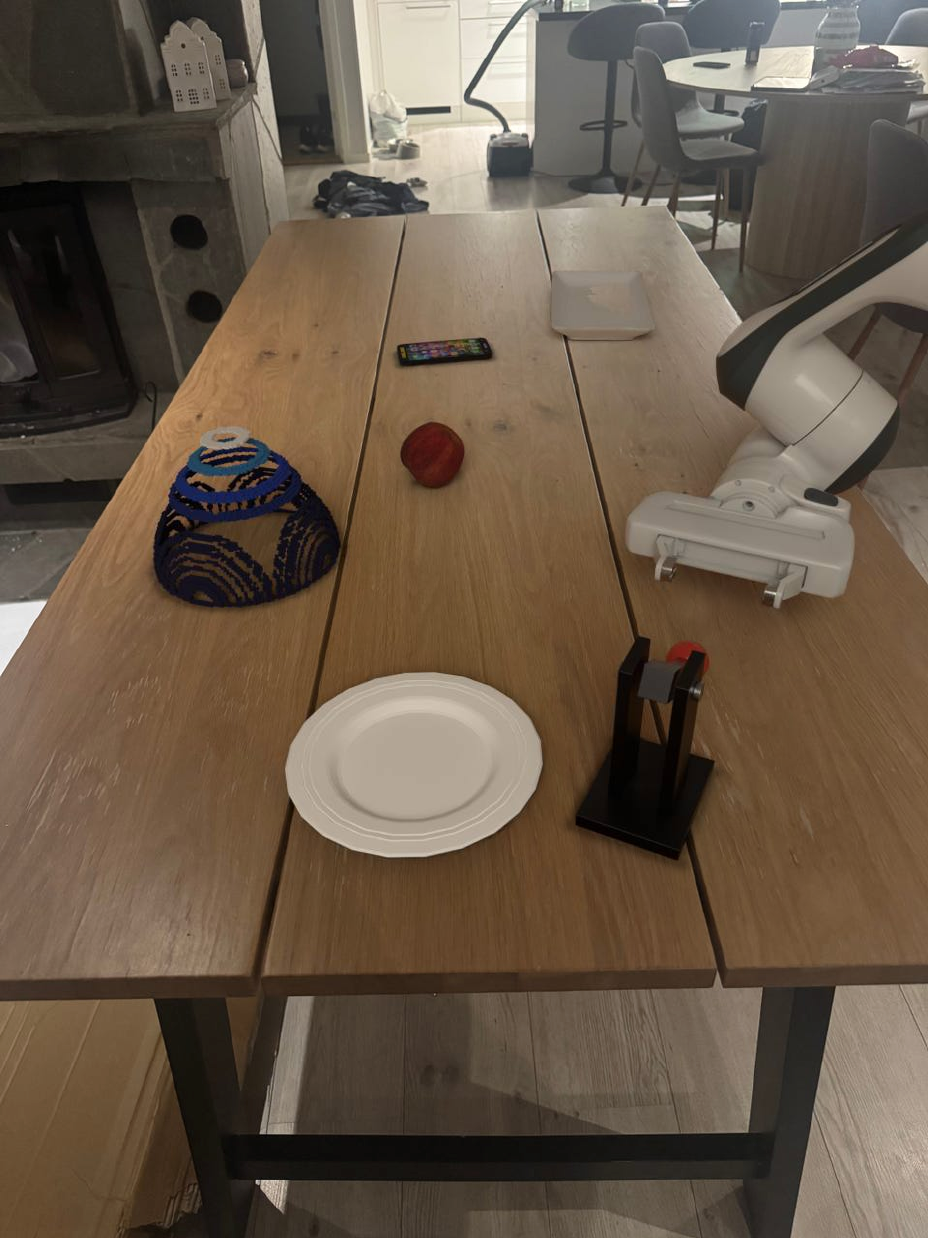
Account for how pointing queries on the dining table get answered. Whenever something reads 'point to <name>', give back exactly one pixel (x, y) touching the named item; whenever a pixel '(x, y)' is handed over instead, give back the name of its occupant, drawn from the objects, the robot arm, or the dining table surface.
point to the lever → (667, 672)
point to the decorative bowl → (262, 489)
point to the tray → (591, 320)
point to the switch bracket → (650, 765)
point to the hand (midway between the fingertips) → (715, 587)
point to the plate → (414, 765)
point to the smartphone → (444, 351)
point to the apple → (433, 454)
